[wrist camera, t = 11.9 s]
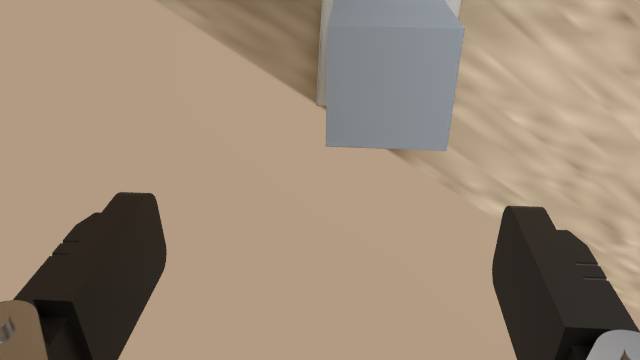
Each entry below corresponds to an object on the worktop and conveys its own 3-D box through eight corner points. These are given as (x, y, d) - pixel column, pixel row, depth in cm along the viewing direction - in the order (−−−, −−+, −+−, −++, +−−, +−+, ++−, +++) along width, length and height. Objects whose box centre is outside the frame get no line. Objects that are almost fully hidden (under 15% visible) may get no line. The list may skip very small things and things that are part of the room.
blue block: (334, -4, 26) (327, 25, 20) (443, -1, 25) (464, 28, 20) (332, 98, 28) (325, 146, 23) (431, 102, 28) (446, 150, 23)
